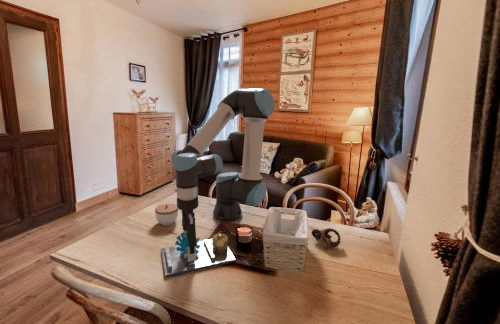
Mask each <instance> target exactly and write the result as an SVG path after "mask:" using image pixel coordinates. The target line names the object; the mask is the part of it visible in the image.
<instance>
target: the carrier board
mask: <svg viewBox="0 0 500 324" xmlns="http://www.w3.org/2000/svg"><path fill="white" fill-rule="evenodd" d="M211 237H212V238H209V239H208V238H205V239H203V240H199V241H198V243H197V245H200V248H199V249H197V248H196V249H197V250H198V251H199V253H197V254H196V260H193V261H189V262H188V258H186V255H188V253H187V252H186V253H185V254H184V255H183V256H181V255H180V253H181V252H180V250H179V251H177V249H176V248H177V247H180V246H179V245H172V246H165V247H161V249H160V251H161V255H162V256H161V257H162V258H161V259H162V264H163V271H164V279H168V278H169V279H170V278H172V277H177V276H183V275H186V274H190V273H194V272H198V271H202V270H206V269H211V268H215V267H219V266H220V267H221V266H224V265H227V264H232V263H231V262H232V261H236V258H235V256H234V254H233V252H232V251H231V249H230V247H229V246H228V245H229V244H228V238H229V237H228V235H227V234H225V233H222V232H218V233H216V234H214V235H212V236H211ZM180 248H181V247H180ZM182 252H184V251H182Z"/></svg>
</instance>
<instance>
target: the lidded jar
mask: <svg viewBox="0 0 500 324" xmlns="http://www.w3.org/2000/svg"><path fill="white" fill-rule="evenodd" d="M154 213H155V214H154V215H155V219H156V220H157V222H158V223H159V224H161V225H162V226H170V225H173V224H174V223H175V222H176V220H177V218H178V215H179V209H178V208H177V204H175V203H163V204H160V205H158V206H156V207H155V208H154Z"/></svg>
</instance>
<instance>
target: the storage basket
mask: <svg viewBox="0 0 500 324" xmlns="http://www.w3.org/2000/svg"><path fill="white" fill-rule="evenodd" d="M282 215H289V216H294V219H288V218H287V219H286V218H282ZM262 243H263V259H264V266H265V268H268V267H271V268H270V269H275V270H276V269H277V270H278V269H279V270H283V271H289V272H290V271H291V272H295V273H297V272H299V273H300V272H301V273H302V272H304V269H305V262H306V253H307V246H308V244H309V219H308V213H307V211H306V210H305V209H298V208H297V209H296V208H290V207H289V208H288V207H279V206H278V207H276V206H275V207H274V206H271V207H269V208H268V211H267V213H266V217H265V222H264V226H263V231H262Z"/></svg>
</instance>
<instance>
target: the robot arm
mask: <svg viewBox="0 0 500 324" xmlns="http://www.w3.org/2000/svg"><path fill="white" fill-rule="evenodd" d="M274 99H275V98H274V96H273V94H272V92H271V91H270V90H269V89H267V88H259V87H257V88H239V89H235V90H233V91H232V92H231V93H229V94H227V95H226V96H225V97H224V98H223V99H221V100H220V102H219V103H218V105H216V106H217V109H216V110H215V111H214V112H213V114H212V115H211V116H210V117H209V119H208V120H207V121H206V122H205V123H204V124H203V125H202V126H201V128H200V129H199V130H198V131H197V132H196V133H195V135H194V136H193V137H192V138H191V139H190V141H189V142H188V143H186V145H185V147H184V148H183V149H179V150H178V149H177V150H175V151H174V152H173V153H172V155H171V157H170V161H171V164H172V166H174V171H175V173H174V175H175V185H176V187H175V188H174V192H175V193H176V205H177V208H178V211H179V210H180V211H181V227H182V230H183V231H182V233H185V235H184V237H186V233H187V238H188V244H186V246H187V247H188V262H189V261H193V260H196V246H197V243H196V239H197V232H196V218H195V217H196V215H195V212H194V210H195V209H196V210H197V208H198V207H199V197H198V196H199V179H201V178H205V177H208V176H211V175H215V174H217V176H216V178H215V179H216V180H215V193H216V194H215V195H216V196H215V197H216V199H215V200H216V202H215V205H214V208H213V211H212V217H213V219H214V220H216V221H219V222H223V223H232V222H236V221H238V220H240V219H241V218H242V217H243V211H242V208H241V205H240V203H242V204H245V205H246V206H252V207H257V206H259V205H260V204H261V203H262V202H263V201H264V199H265V197H266V194H267V190H268V189H267V184H266V183H264V182H263V176H262V175H261V174H260V173H261V163H262V150H263V141H264V130H265V123H266V122H267V121H268V120H269V116H271V115H272V114H273V113H274V111H275V100H274ZM239 115H242V119H243V120H244V121H245V124H244V125H245V128H244V141H243V150H242V153H243V154H242V166H241V173H239V172H237V171H234V172H233V171H228V172H222V173H220V172H221V171H222V169H223V164H224V163H223V159H222V158H221V156H220V155H218V154H217V153H216V154H215V153H214V154H213V153H211V154H209V155H207V154H204V153H205V152H206V150H207V149H208V148H209V147H210V145H211V144H212V143H213V142H214V141H215V139H216V138H217V137H218V135H219V134H220V133H221V132H222V130H223V129H224V128H225V127H226V125H228V123H229V122H230V121H231V120H234V119H235V118H236V117H237V116H239ZM218 173H219V174H218Z"/></svg>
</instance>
